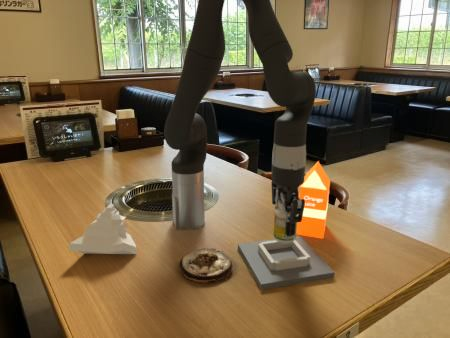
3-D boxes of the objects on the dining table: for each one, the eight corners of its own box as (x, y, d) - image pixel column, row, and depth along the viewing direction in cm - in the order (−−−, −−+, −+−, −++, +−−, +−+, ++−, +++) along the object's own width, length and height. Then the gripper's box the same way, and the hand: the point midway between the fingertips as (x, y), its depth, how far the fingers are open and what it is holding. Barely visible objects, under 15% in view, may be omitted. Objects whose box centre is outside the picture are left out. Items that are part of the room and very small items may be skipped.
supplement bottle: (288, 246, 86) (290, 208, 83) (269, 238, 90) (270, 202, 87) (299, 237, 90) (302, 201, 87) (280, 230, 94) (282, 195, 91)
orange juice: (326, 225, 111) (332, 161, 105) (323, 238, 103) (330, 171, 97) (300, 221, 114) (304, 159, 107) (295, 234, 106) (300, 168, 99)
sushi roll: (181, 293, 81) (180, 277, 80) (171, 258, 95) (170, 244, 93) (245, 282, 85) (245, 267, 83) (227, 250, 98) (227, 236, 97)
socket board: (261, 290, 82) (261, 276, 81) (237, 248, 98) (238, 237, 97) (333, 277, 86) (335, 264, 85) (300, 240, 102) (300, 229, 101)
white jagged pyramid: (87, 246, 102) (91, 195, 101) (141, 251, 102) (145, 200, 101) (68, 260, 90) (72, 202, 89) (129, 266, 90) (134, 208, 89)
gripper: (262, 155, 90) (260, 218, 95) (286, 174, 76) (282, 246, 82) (290, 153, 91) (287, 215, 97) (319, 170, 78) (313, 241, 84)
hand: (285, 229), depth 89 cm, fingers closed on supplement bottle, 5 cm apart
